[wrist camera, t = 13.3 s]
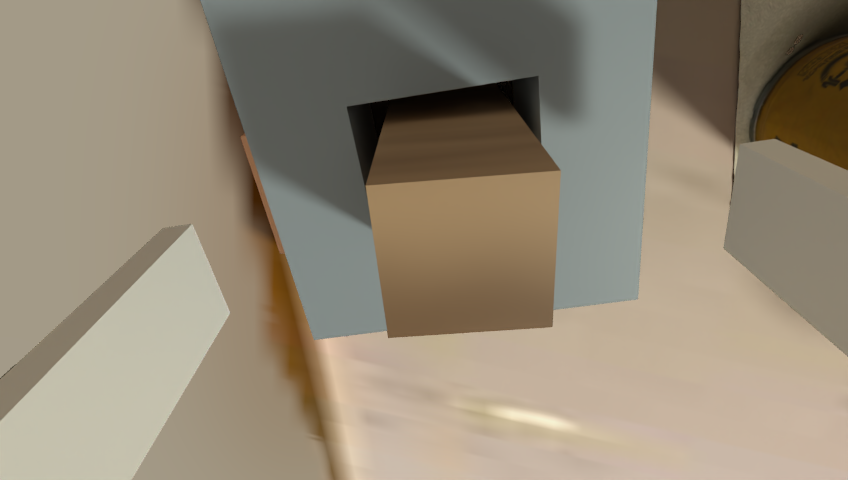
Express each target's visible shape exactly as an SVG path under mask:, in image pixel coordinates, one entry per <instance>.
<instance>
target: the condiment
mask: <svg viewBox="0 0 848 480" xmlns="http://www.w3.org/2000/svg"><path fill="white" fill-rule="evenodd" d="M802 34H803V37H802V39H801V41H800V42H799V43H798V44H796V45H794V41H795V40H796V38H797V37H798V36H799V35H802ZM791 47H794V51H793V52H792V53H791V54H790V55H786V52H787V51H788V50H789V49H790V48H791ZM735 132H736V136H735V161H734V177H735V172H736V166H737V159H738V153H739V146H740V144H742V143H749V142H756V141H763V140H770V139H776V140H779V141H781V142H783V143H786V144H788V145H790V146H793V147H795V148H797V149H799V150H802V151H804V152H806V153H809V154H811V155H813V156H816V157H818V158H820V159H823V160H825V161H827V162H829V163H832V164H834V165H836V166H839V167H841V168H843V169H846V170H848V0H741V32H740V62H739V89H738V103H737V113H736V129H735Z"/></svg>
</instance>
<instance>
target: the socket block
mask: <svg viewBox="0 0 848 480" xmlns="http://www.w3.org/2000/svg"><path fill="white" fill-rule="evenodd" d="M200 1H201V4H202V7H203V10H204V13H205V16H206V19H207V22H208V25H209V28H210V31H211V34H212V37H213V40H214V43H215V46H216V49H217V52H218V55H219V58H220V61H221V64H222V67H223V70H224V73H225V76H226V79H227V82H228V85H229V88H230V91H231V94H232V97H233V100H234V103H235V106H236V109H237V112H238V115H239V118H240V120H241V123H242V126H243V129H244V132H245V133H244V134H243V135H242V136H240V138H241V141H242V144H243V147H244V149H245V152H246V155H247V158H248V161H249V164H250V167H251V170H252V173H253V176H254V179H255V182H256V185H257V188H258V190H259V193H260V196H261V199H262V202H263V205H264V208H265V211H266V214H267V217H268V220H269V223H270V226H271V229H272V231H273V234H274V237H275V240H276V243H277V246H278V249H279V252H280V254H283V253H285V255H286V258H287V261H288V264H289V267H290V270H291V273H292V275H293V278H294V281H295V284H296V287H297V290H298V293H299V296H300V299H301V302H302V305H303V308H304V311H305V314H306V317H307V320H308V323H309V326H310V329H311V332H312V335H313V338H314V340H317V339H325V338H333V337H341V336H349V335H357V334H365V333H373V332H381V331H387V326H386V319H385V313H384V306H383V299H382V292H381V286H380V279H379V272H378V266H377V259H376V252H375V245H374V239H373V232H372V225H371V219H370V212H369V205H368V198H367V192H366V183H367V179H368V176H369V172H370V169H371V165H372V162H373V158H374V155H375V151H376V148H377V144H378V139H377V134H376V129H375V125H374V120H373V115H372V110H371V105H370V103H372V102H378V101H384V100H391V99H397V98H403V97H409V96H415V95H422V94H428V93H434V92H440V91H447V90H453V89H459V88H465V87H472V86H478V85H484V84H490V83H497V82H503V81H509V80H512V85H513V100H514V108H515V110H516V111H517V112H518V114H519V115H520V116H521V118H522V119H523V120H524V122H525V123H526V124H527V126H528V127H529V128H530V130H531V131H532V132H533V134H534V135H535V136H536V138H537V139H538V140H539V142H540V143H541V144H542V146H543V147H544V148H545V150H546V151H547V152H548V154H549V155H550V156H551V158H552V159H553V160H554V162H555V163H556V165H557V166H558V167H559V169H560V170H561V179H560V197H559V215H558V233H557V251H556V270H555V288H554V306H553V310H556V309H564V308H572V307H580V306H588V305H596V304H604V303H612V302H620V301H628V300H636V299H638V291H639V275H640V260H641V244H642V229H643V213H644V198H645V182H646V167H647V151H648V136H649V120H650V105H651V89H652V74H653V58H654V43H655V27H656V12H657V0H200Z"/></svg>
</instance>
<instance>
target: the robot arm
mask: <svg viewBox="0 0 848 480" xmlns="http://www.w3.org/2000/svg"><path fill="white" fill-rule="evenodd" d="M724 249H725V250H726V251H727V252H728V253H730V254H731V255H732V256H733V257H734V258H735V259H736V260H738V261H739V262H740V263H741V264H742V265H743V266H745V267H746V268H747V269H748V270H749V271H750V272H751V273H753V274H754V275H755V276H756V277H757V278H758V279H759V280H761V281H762V282H763V283H764V284H765V285H766V286H767V287H769V288H770V289H771V290H772V291H773V292H774V293H775V294H777V295H778V296H779V297H780V298H781V299H782V300H783V301H785V302H786V303H787V304H788V305H789V306H790V307H792V308H793V309H794V310H795V311H796V312H797V313H798V314H800V315H801V316H802V317H803V318H804V319H805V320H806V321H808V322H809V323H810V324H811V325H812V326H813V327H814V328H816V329H817V330H818V331H819V332H820V333H821V334H822V335H824V336H825V337H826V338H827V339H828V340H829V341H830V342H832V343H833V344H834V345H835V346H836V347H837V348H839V349H840V350H841V351H842V352H843V353H844V354H845V355H847V356H848V170H846V169H843V168H841V167H839V166H836V165H834V164H832V163H829V162H827V161H825V160H823V159H820V158H818V157H816V156H813V155H811V154H809V153H806V152H804V151H802V150H799V149H797V148H795V147H793V146H790V145H788V144H786V143H783V142H781V141H779V140H776V139H770V140H763V141H756V142H749V143H742V144H740V146H739V153H738V159H737V166H736V172H735V178H734V185H733V191H732V197H731V204H730V210H729V217H728V223H727V229H726V236H725V242H724ZM229 314H230V311H229V309H228V307H227V304H226V302H225V299H224V297H223V295H222V292H221V290H220V288H219V285H218V283H217V281H216V278H215V276H214V274H213V271H212V269H211V267H210V264H209V262H208V260H207V257H206V255H205V253H204V250H203V248H202V245H201V243H200V241H199V239H198V236H197V234H196V231H195V229H194V227H193V224H188V225H181V226H175V227H167V228H163V229H161V230H160V231H159V233H157V234H156V235H155V236H154V237H153V238H152V239H151V240H150V241H149V242H147V243H146V245H144V246H143V247H142V248H141V249H140V250H139V251H138V252H137V253H136V254H135V255H133V256H132V257H131V258H130V259H129V260H128V261H127V262H126V263H125V264H124V265H123V266H122V267H121V268H119V269H118V270H117V271H116V272H115V273H114V274H113V275H112V276H111V277H110V278H109V279H108V280H107V281H105V283H103V284H102V285H101V286H100V287H99V288H98V289H97V290H96V291H95V292H94V293H93V294H91V296H89V297H88V298H87V299H86V300H85V301H84V302H83V303H82V304H81V305H80V306H79V307H78V308H76V309H75V310H74V311H73V312H72V313H71V314H70V315H69V316H68V317H67V318H66V319H65V320H63V322H61V323H60V324H59V325H58V326H57V327H56V328H55V329H54V330H53V331H52V332H51V333H49V334H48V335H47V336H46V337H45V338H44V339H43V340H42V341H41V342H40V343H39V344H38V345H37V346H35V347H34V348H33V349H32V350H31V351H30V352H29V353H28V354H27V355H26V356H25V357H24V358H23V359H22V360H20V361H19V362H18V363H17V364H16V365H14V366H13V367H12V368H11V369H10V370H9V371H8V372H7V373H6V374H4V375H3V376H2V377H1V378H0V480H132V478H133V477H134V475H135V473H136V472H137V470H138V468H139V466H140V464H141V463H142V461H143V460H144V458H145V456H146V455H147V453H148V451H149V449H150V448H151V446H152V444H153V443H154V441H155V439H156V438H157V436H158V434H159V432H160V431H161V429H162V428H163V426H164V424H165V422H166V421H167V419H168V417H169V416H170V414H171V412H172V411H173V409H174V407H175V406H176V404H177V402H178V401H179V399H180V397H181V395H182V394H183V392H184V390H185V389H186V387H187V385H188V383H189V382H190V380H191V378H192V377H193V375H194V373H195V372H196V370H197V368H198V367H199V365H200V363H201V362H202V360H203V358H204V356H205V355H206V353H207V351H208V350H209V348H210V346H211V344H212V343H213V341H214V340H215V338H216V336H217V334H218V333H219V331H220V329H221V328H222V326H223V324H224V323H225V321H226V319H227V318H228V316H229Z"/></svg>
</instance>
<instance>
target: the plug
mask: <svg viewBox="0 0 848 480" xmlns="http://www.w3.org/2000/svg"><path fill="white" fill-rule="evenodd" d="M560 179H561V170H560V169H559V167H558V166H557V165H556V163H555V162H554V160H553V159H552V158H551V156H550V155H549V154H548V152H547V151H546V150H545V148H544V147H543V146H542V144H541V143H540V142H539V140H538V139H537V138H536V136H535V135H534V134H533V132H532V131H531V130H530V128H529V127H528V126H527V124H526V123H525V122H524V120H523V119H522V118H521V116H520V115H519V114H518V112H517V111H516V110H515V108H514V107H513V106H512V104H511V103H510V102H509V100H508V99H507V98H506V96H505V95H504V94H503V92H502V91H501V90H500V88H499V87H498V86H497V84H496V83H490V84H484V85H478V86H472V87H465V88H459V89H453V90H447V91H440V92H434V93H428V94H422V95H415V96H409V97H403V98H397V99H391V100H390V103H389V106H388V110H387V113H386V116H385V120H384V123H383V127H382V130H381V134H380V137H379V141H378V144H377V148H376V151H375V155H374V158H373V162H372V165H371V169H370V172H369V176H368V179H367V183H366V192H367V198H368V205H369V212H370V219H371V225H372V232H373V239H374V245H375V252H376V259H377V266H378V272H379V279H380V286H381V292H382V299H383V306H384V313H385V319H386V326H387V333H388V338H393V337H408V336H424V335H439V334H454V333H469V332H484V331H499V330H515V329H530V328H545V327H552V324H553V306H554V288H555V270H556V251H557V233H558V215H559V197H560Z"/></svg>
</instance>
